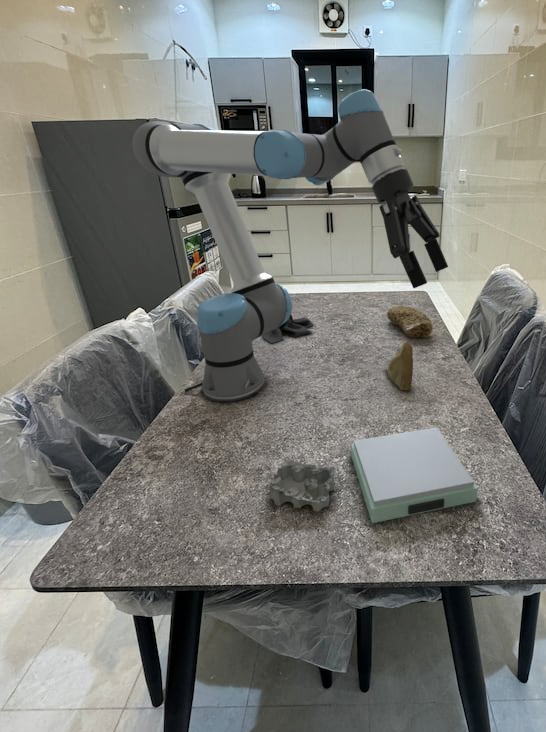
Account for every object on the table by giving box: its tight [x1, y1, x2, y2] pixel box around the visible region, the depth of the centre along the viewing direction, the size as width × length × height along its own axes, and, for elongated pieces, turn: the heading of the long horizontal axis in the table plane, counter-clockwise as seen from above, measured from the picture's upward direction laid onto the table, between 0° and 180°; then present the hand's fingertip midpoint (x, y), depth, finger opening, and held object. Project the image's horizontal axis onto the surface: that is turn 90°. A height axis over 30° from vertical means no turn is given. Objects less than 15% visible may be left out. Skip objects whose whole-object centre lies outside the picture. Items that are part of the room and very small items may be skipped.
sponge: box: [386, 305, 434, 339], centre depth 132 cm, size 13×8×20 cm
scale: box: [350, 426, 479, 524], centre depth 68 cm, size 18×16×4 cm
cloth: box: [262, 313, 314, 345], centre depth 132 cm, size 22×19×6 cm
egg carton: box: [265, 460, 336, 512], centre depth 66 cm, size 11×8×4 cm
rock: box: [386, 341, 414, 391], centre depth 99 cm, size 11×9×10 cm
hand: (432, 277), depth 77 cm, fingers open, 13 cm apart
